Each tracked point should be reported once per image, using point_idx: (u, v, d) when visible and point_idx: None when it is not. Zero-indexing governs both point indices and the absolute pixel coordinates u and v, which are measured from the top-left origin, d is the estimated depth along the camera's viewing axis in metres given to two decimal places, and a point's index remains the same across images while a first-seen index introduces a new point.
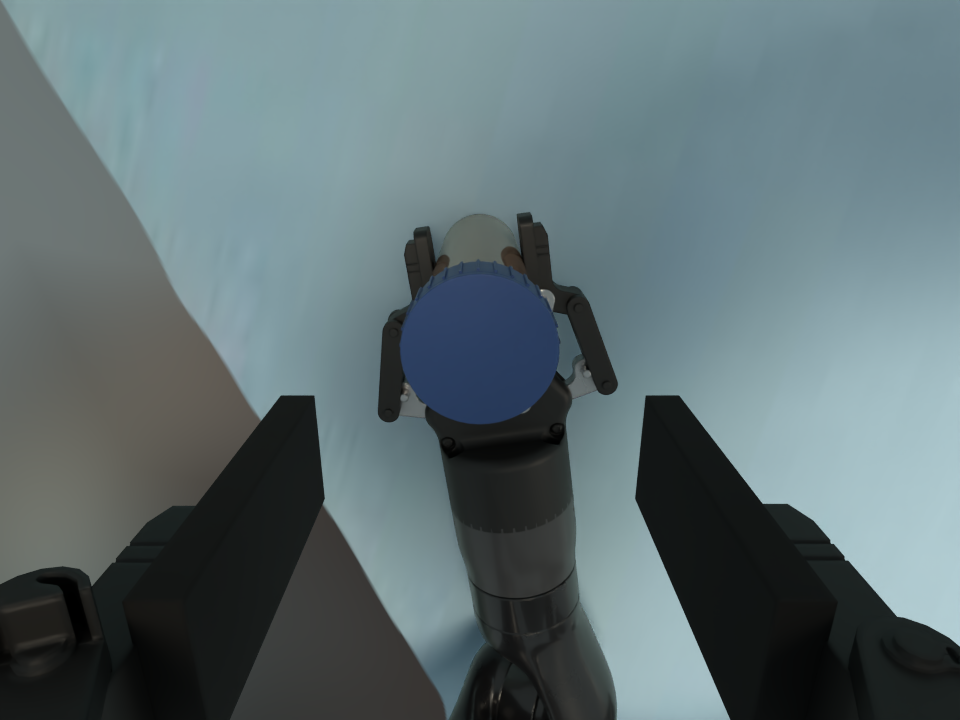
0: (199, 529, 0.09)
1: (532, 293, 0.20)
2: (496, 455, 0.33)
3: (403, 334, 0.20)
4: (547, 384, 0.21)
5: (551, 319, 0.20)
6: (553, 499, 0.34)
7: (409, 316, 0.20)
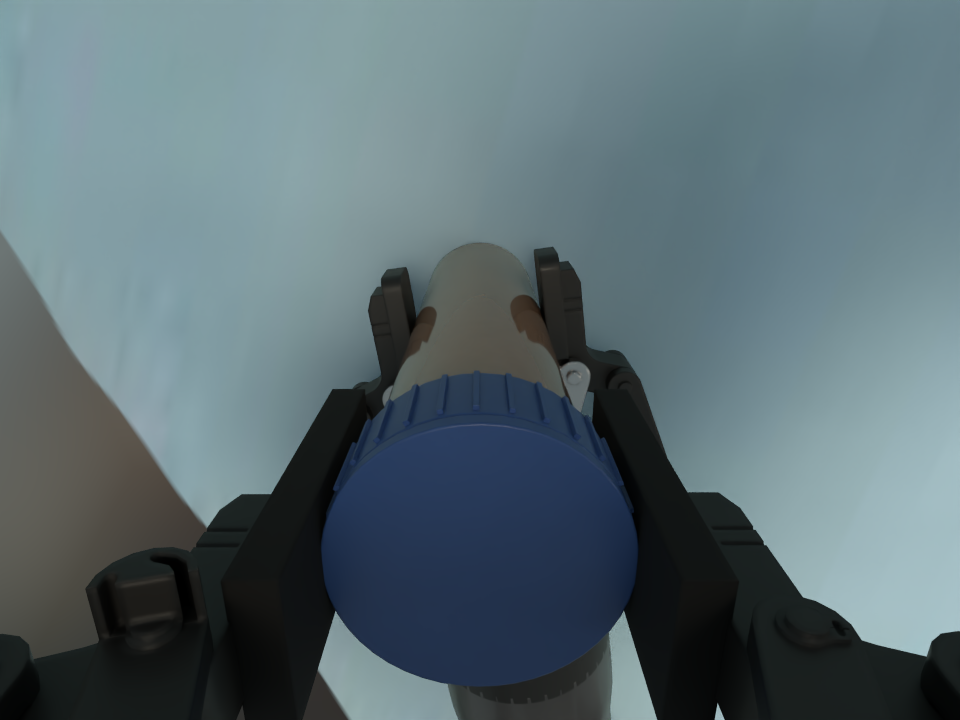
0: (280, 514, 0.09)
1: (588, 459, 0.10)
2: None
3: (325, 535, 0.10)
4: (612, 622, 0.11)
5: (625, 508, 0.10)
6: (585, 654, 0.24)
7: (336, 502, 0.10)
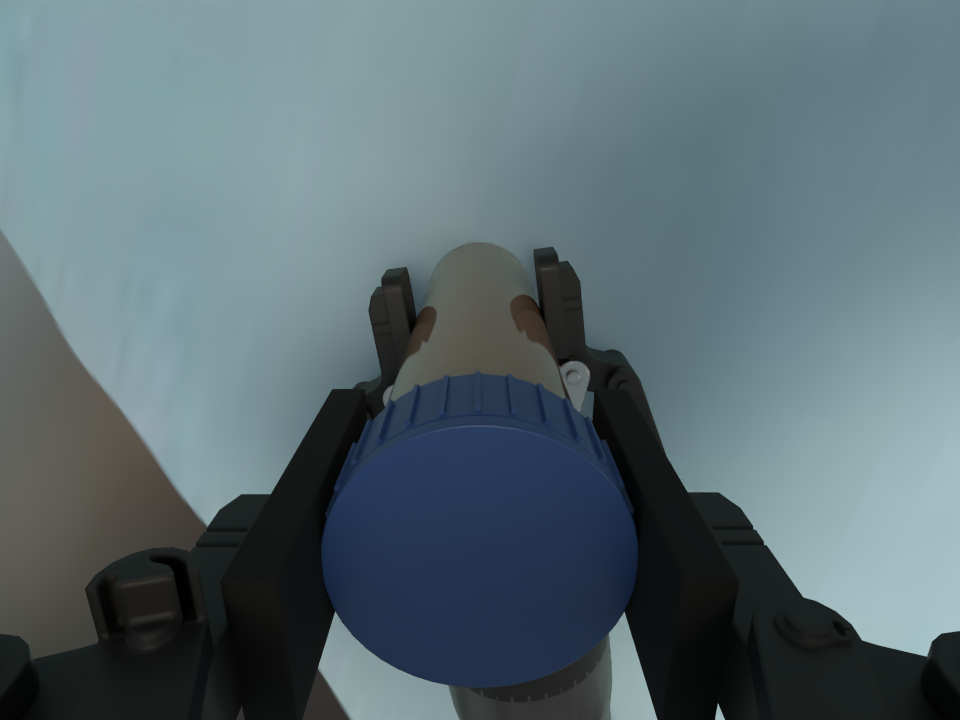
0: (280, 514, 0.09)
1: (358, 472, 0.10)
2: None
3: (435, 681, 0.11)
4: (562, 450, 0.09)
5: (414, 439, 0.09)
6: None
7: (402, 669, 0.11)
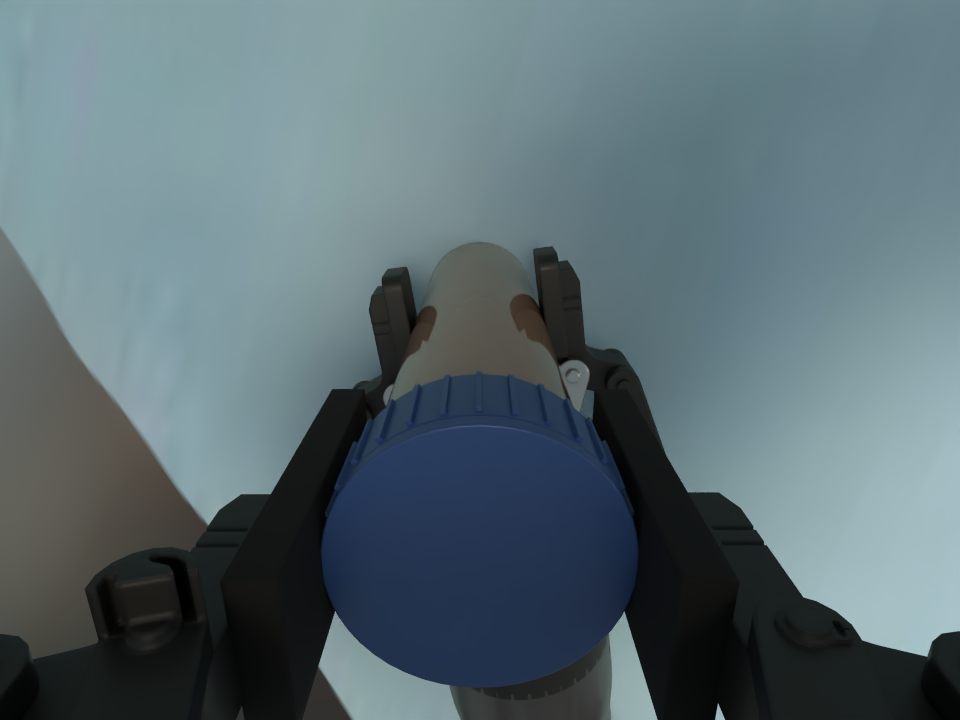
0: (280, 514, 0.09)
1: (370, 650, 0.11)
2: None
3: (620, 613, 0.11)
4: (345, 496, 0.10)
5: (336, 609, 0.11)
6: None
7: (600, 639, 0.11)
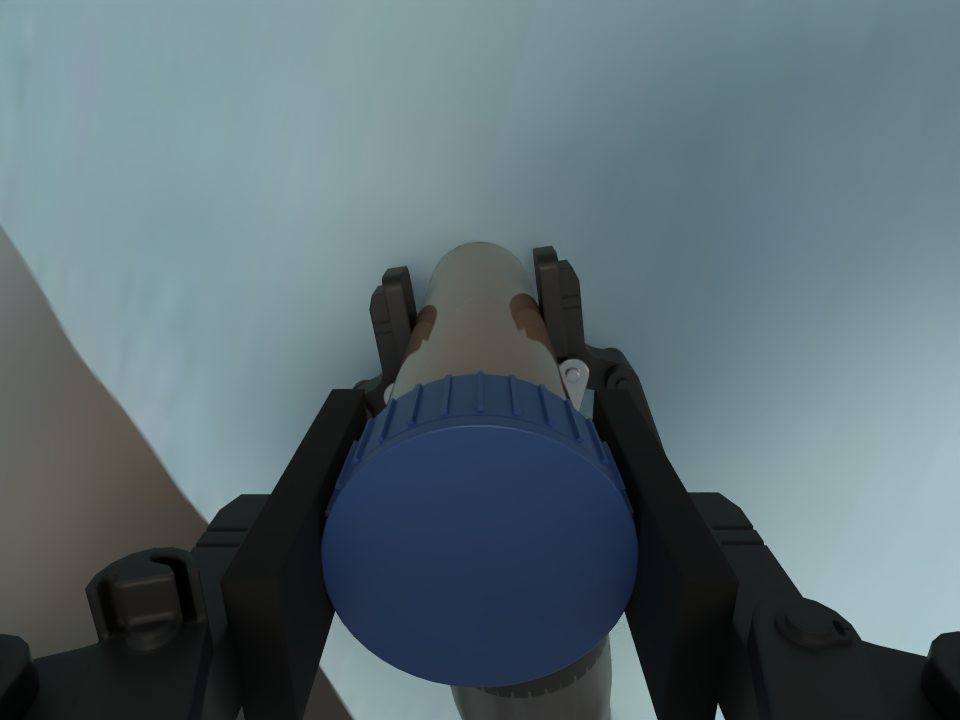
0: (280, 514, 0.09)
1: (573, 661, 0.11)
2: None
3: (551, 442, 0.09)
4: (393, 663, 0.11)
5: None
6: None
7: (586, 461, 0.10)
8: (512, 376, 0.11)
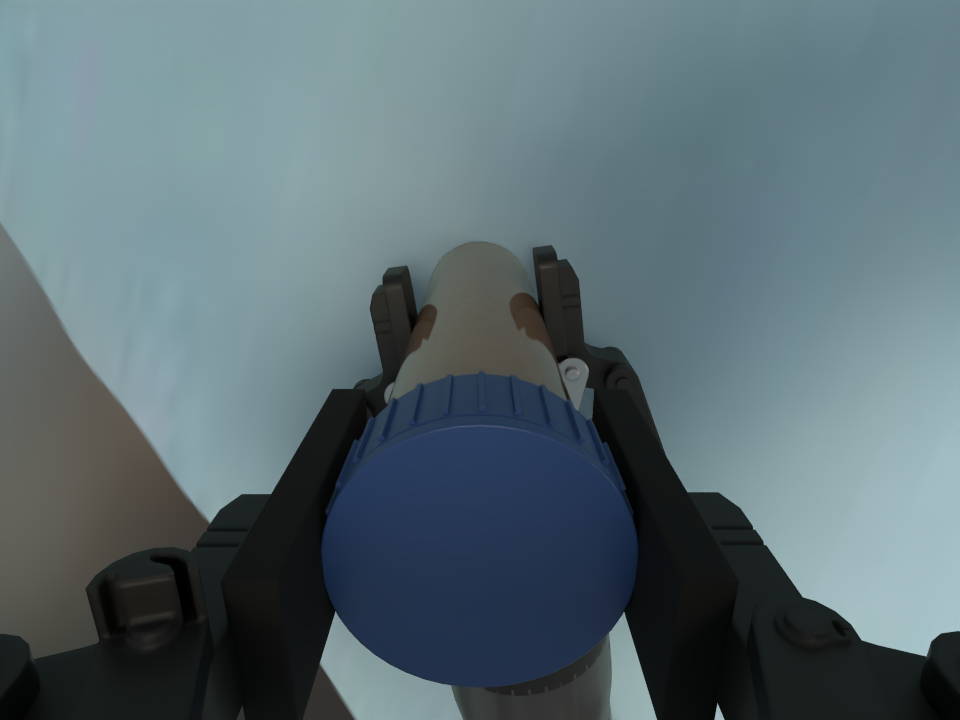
0: (280, 514, 0.09)
1: (614, 487, 0.10)
2: None
3: (337, 504, 0.10)
4: (590, 647, 0.11)
5: (635, 541, 0.10)
6: None
7: (357, 474, 0.10)
8: None
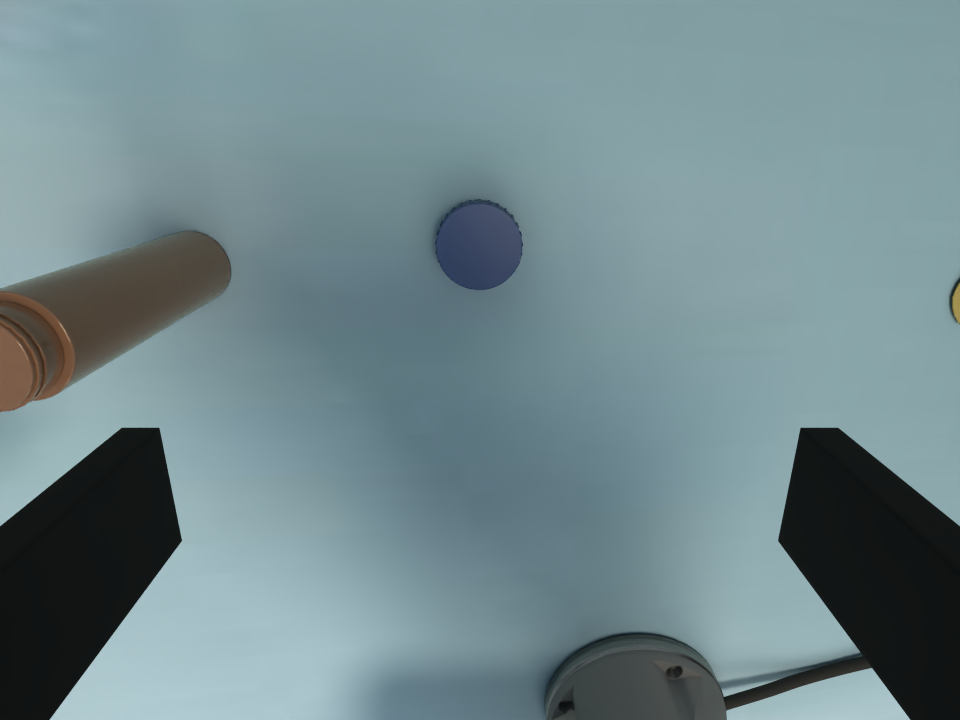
0: None
1: (456, 210, 0.37)
2: None
3: (457, 282, 0.39)
4: (508, 217, 0.37)
5: (472, 205, 0.37)
6: None
7: (449, 276, 0.39)
8: None
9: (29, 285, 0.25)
